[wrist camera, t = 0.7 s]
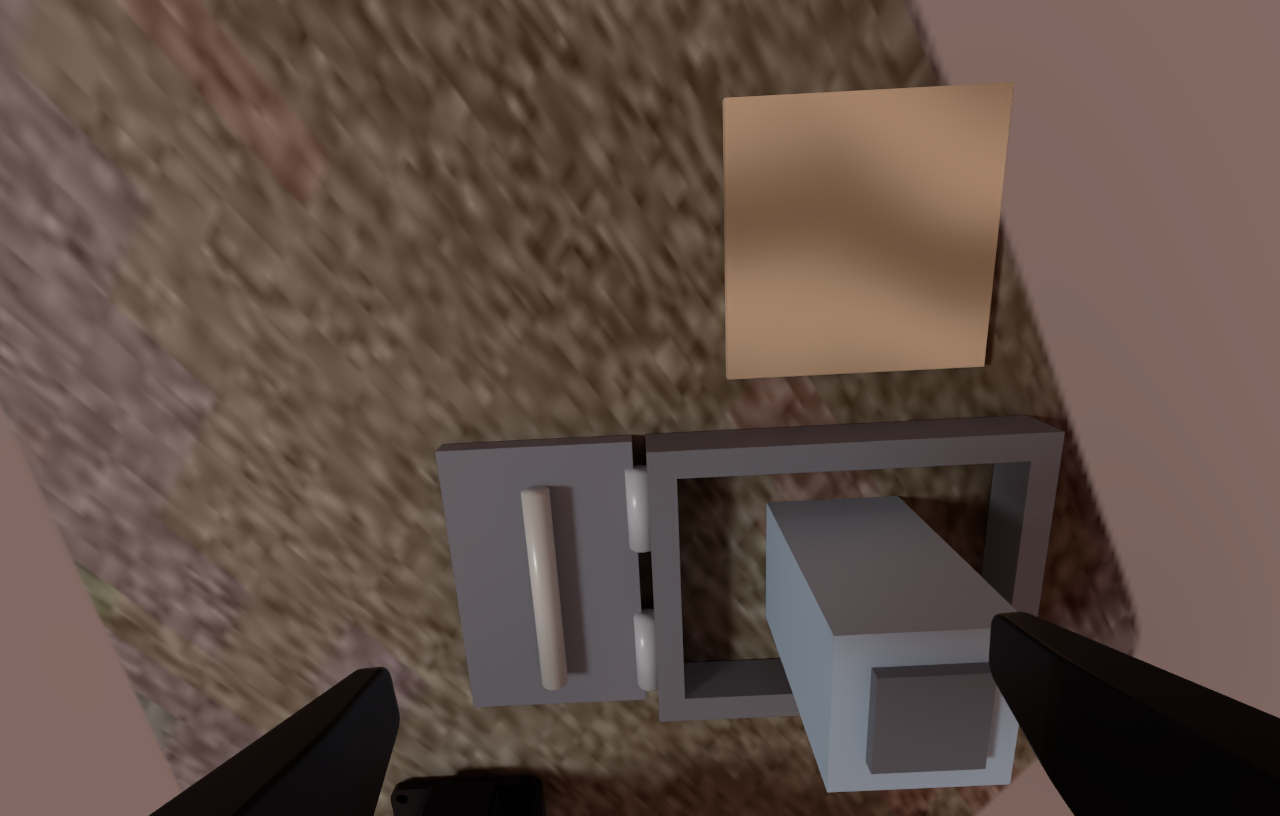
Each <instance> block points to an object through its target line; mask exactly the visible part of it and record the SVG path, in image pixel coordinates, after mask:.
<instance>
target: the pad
mask: <svg viewBox="0 0 1280 816" xmlns="http://www.w3.org/2000/svg"><path fill="white" fill-rule="evenodd" d="M1013 89H1014V82H1008V83H990V84H972V85H953V86H935V87H916V88H898V89H880V90H861V91H843V92H825V93H806V94H788V95H770V96H751V97H733V98H724V100H723V164H724V246H725V328H726V378H727V379H747V378H766V377H786V376H806V375H826V374H845V373H865V372H885V371H905V370H924V369H944V368H964V367H983V366H984V363H985V353H986V344H987V334H988V325H989V316H990V306H991V297H992V287H993V278H994V268H995V259H996V250H997V240H998V231H999V221H1000V212H1001V203H1002V192H1003V184H1004V174H1005V165H1006V155H1007V146H1008V136H1009V127H1010V118H1011V107H1012V99H1013Z"/></svg>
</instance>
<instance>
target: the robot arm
mask: <svg viewBox="0 0 1280 816" xmlns="http://www.w3.org/2000/svg"><path fill="white" fill-rule="evenodd" d="M989 668H990V672H991V675H992V678H993V680H994V682H995V683H996V685H997V687H998V689H999V690H1000V692H1001V694H1002V696H1003V698H1004V699H1005V701H1006V703H1007V705H1008V706H1009V708H1010V710H1011V712H1012V713H1013V715H1014V717H1015V719H1016V721H1017V722H1018V724H1019V726H1020V728H1021V729H1022V731H1023V733H1024V735H1025V737H1026V738H1027V740H1028V742H1029V744H1030V745H1031V747H1032V749H1033V751H1034V753H1035V754H1036V756H1037V758H1038V760H1039V761H1040V763H1041V765H1042V766H1043V768H1044V770H1045V771H1046V773H1047V775H1048V776H1049V778H1050V780H1051V781H1052V783H1053V785H1054V786H1055V788H1056V789H1057V790H1058V792H1059V793H1060V795H1061V797H1062V798H1063V800H1064V801H1065V803H1066V804H1067V805H1068V807H1069V808H1070V809H1071V811H1072V813H1073V814H1074V816H1280V718H1278V717H1275V716H1273V715H1271V714H1268V713H1266V712H1263V711H1261V710H1258V709H1256V708H1254V707H1251V706H1249V705H1247V704H1244V703H1242V702H1239V701H1237V700H1235V699H1232V698H1230V697H1228V696H1225V695H1223V694H1220V693H1218V692H1215V691H1213V690H1211V689H1208V688H1206V687H1203V686H1201V685H1199V684H1196V683H1194V682H1192V681H1189V680H1187V679H1184V678H1182V677H1179V676H1177V675H1175V674H1173V673H1170V672H1168V671H1165V670H1163V669H1160V668H1158V667H1155V666H1153V665H1151V664H1149V663H1146V662H1144V661H1141V660H1139V659H1137V658H1134V657H1132V656H1129V655H1127V654H1125V653H1122V652H1120V651H1118V650H1115V649H1113V648H1110V647H1108V646H1106V645H1103V644H1101V643H1098V642H1096V641H1094V640H1091V639H1089V638H1086V637H1084V636H1082V635H1079V634H1077V633H1075V632H1072V631H1070V630H1067V629H1065V628H1063V627H1060V626H1058V625H1055V624H1053V623H1051V622H1048V621H1046V620H1043V619H1041V618H1039V617H1036V616H1034V615H1031V614H1029V613H1026V612H1021V611H1019V612H1008V613H998V614H996V615H995V616H994V617H993V619H992V621H991V631H990V645H989ZM399 721H400V715H399V709H398V704H397V700H396V696H395V691H394V687H393V683H392V678H391V675H390V672H389V671H388V669H386V668H384V667H374V668H363V669H358V670H356V671H355V672H353V673H352V674H350V675H349V676H347V677H346V678H345V679H343V680H342V681H340V682H339V683H337V684H336V685H335V686H333V687H332V688H330V689H329V690H327V691H326V692H325V693H323V694H322V695H320V696H319V697H317V698H316V699H315V700H313V701H312V702H310V703H309V704H307V705H306V706H305V707H303V708H302V709H300V710H299V711H297V712H296V713H295V714H293V715H292V716H290V717H289V718H287V719H286V720H285V721H283V722H282V723H280V724H279V725H277V726H276V727H275V728H273V729H272V730H270V731H269V732H267V733H266V734H265V735H263V736H262V737H260V738H259V739H257V740H256V741H255V742H253V743H252V744H250V745H249V746H247V747H246V748H245V749H243V750H242V751H240V752H239V753H237V754H236V755H235V756H233V757H232V758H230V759H229V760H227V761H226V762H225V763H223V764H222V765H220V766H219V767H217V768H216V769H215V770H213V771H212V772H210V773H209V774H207V775H206V776H205V777H203V778H202V779H200V780H199V781H197V782H196V783H195V784H193V785H192V786H190V787H189V788H187V789H186V790H185V791H183V792H182V793H180V794H179V795H177V796H176V797H175V798H173V799H172V800H170V801H169V802H167V803H166V804H165V805H163V806H162V807H160V808H159V809H158V810H156V811H155V812H153V813H152V814H150V815H149V816H374V812H375V809H376V805H377V802H378V799H379V795H380V792H381V788H382V785H383V781H384V778H385V774H386V771H387V767H388V764H389V761H390V757H391V754H392V750H393V747H394V743H395V740H396V736H397V733H398V729H399ZM530 789H533V790H530ZM391 803H392V808H393V813H394V816H546V809H545V800H544V792H543V784H542V782H541V780H540V779H539V778H537V777H534V776H519V777H497V778H475V779H453V780H431V781H409V782H400V783H398V784H397V785H396V786H395V788H394V790H393V792H392V795H391Z"/></svg>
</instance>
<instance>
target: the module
mask: <svg viewBox="0 0 1280 816" xmlns="http://www.w3.org/2000/svg"><path fill="white" fill-rule="evenodd" d="M1008 612H1018V611H1016V610H1015V609H1014V608H1013V607H1012V606H1011V605H1010V604H1009V603H1008V602H1007V601H1006V600H1005V599H1004V598H1003V597H1002V596H1001V595H1000V594H999V593H998V592H997V591H996V590H995V589H994V588H993V587H992V586H991V585H990V584H988V583H987V582H986V581H985V580H984V579H983V578H982V577H981V576H980V575H979V574H978V573H977V572H976V571H975V570H974V569H973V568H972V567H971V566H970V565H969V564H968V563H967V562H966V561H965V560H964V559H963V558H962V557H961V556H959V555H958V554H957V553H956V552H955V551H954V550H953V549H952V548H951V547H950V546H949V545H948V544H947V543H946V542H945V541H944V540H943V539H942V538H941V537H940V536H939V535H938V534H937V533H936V532H935V531H934V530H933V529H932V528H930V527H929V526H928V525H927V524H926V523H925V522H924V521H923V520H922V519H921V518H920V517H919V516H918V515H917V514H916V513H915V512H914V511H913V510H912V509H911V508H910V507H909V506H908V505H907V504H906V503H905V502H904V501H902V500H901V499H900V498H899V497H898V496H890V497H870V498H850V499H829V500H809V501H788V502H768V503H767V537H766V618H767V621H768V624H769V627H770V629H771V632H772V635H773V638H774V641H775V644H776V647H777V649H778V652H779V655H780V658H781V661H782V664H783V667H784V670H785V672H786V675H787V678H788V681H789V684H790V687H791V690H792V693H793V695H794V698H795V701H796V704H797V707H798V710H799V713H800V716H801V718H802V721H803V724H804V727H805V730H806V733H807V736H808V739H809V741H810V744H811V747H812V750H813V753H814V756H815V759H816V762H817V764H818V767H819V770H820V773H821V776H822V779H823V782H824V785H825V787H826V790H827V792H848V791H870V790H892V789H914V788H936V787H958V786H980V785H1002V784H1010V780H1011V774H1012V767H1013V760H1014V753H1015V746H1016V739H1017V733H1018V726H1019V724H1018V722H1017V721H1016V719H1015V717H1014V715H1013V713H1012V712H1011V710H1010V708H1009V706H1008V705H1007V703H1006V701H1005V699H1004V698H1003V696H1002V694H1001V692H1000V690H999V689H998V687H997V685H996V683H995V682H994V680H993V678H992V675H991V672H990V668H989V645H990V631H991V621H992V619H993V617H994V616H995V615H996V614H998V613H1008Z"/></svg>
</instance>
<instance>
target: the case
mask: <svg viewBox="0 0 1280 816" xmlns="http://www.w3.org/2000/svg"><path fill="white" fill-rule="evenodd" d="M1064 435H1065V432H1064V431H1062V430H1060V429H1058V428H1055V427H1053V426H1051V425H1048V424H1046V423H1044V422H1042V421H1039V420H1037V419H1035V418H1033V417H1030V416H1028V415H1019V416H999V417H979V418H959V419H939V420H919V421H899V422H879V423H859V424H839V425H819V426H799V427H779V428H759V429H739V430H719V431H699V432H679V433H659V434H645V439H646V460H647V465H634V466H633V449H632V435H619V436H599V437H579V438H559V439H539V440H519V441H499V442H479V443H459V444H442V445H441V446H440V447H439V448H438V449H437V450H436V451H435V453H436V460H437V466H438V473H439V479H440V486H441V493H442V499H443V506H444V512H445V519H446V526H447V532H448V539H449V546H450V552H451V559H452V565H453V572H454V579H455V585H456V592H457V598H458V605H459V612H460V618H461V625H462V631H463V638H464V645H465V651H466V658H467V664H468V671H469V678H470V684H471V691H472V697H473V704H474V707H490V706H512V705H534V704H555V703H577V702H598V701H620V700H641V699H646V691H654V690H657V689H658V696H659V716H660V722H665V721H686V720H708V719H730V718H751V717H773V716H795V715H800V713H799V710H798V707H797V704H796V701H795V698H794V695H793V693H792V690H791V687H790V684H789V681H788V678H787V675H786V672H785V670H784V667H783V664H782V661H781V658H780V659H759V660H737V661H716V662H695V663H684V659H683V632H682V605H681V577H680V550H679V523H678V495H677V479H684V478H704V477H725V476H745V475H765V474H785V473H806V472H826V471H846V470H866V469H887V468H907V467H927V466H947V465H968V464H988V463H994V469H993V478H992V487H991V495H990V504H989V513H988V521H987V530H986V538H985V547H984V556H983V564H982V573H981V577H982V578H983V579H984V580H985V581H986V582H987V583H988V584H990V585H991V586H992V587H993V588H994V589H995V590H996V591H997V592H998V593H999V594H1000V595H1001V596H1002V597H1003V598H1004V599H1005V600H1006V601H1007V602H1008V603H1009V604H1010V605H1011V606H1012V607H1013V608H1014V609H1015V610H1016V611H1018V612H1019V611H1021V612H1026V613H1029V614H1031V615H1034V616H1036V617H1038V611H1039V605H1040V598H1041V591H1042V584H1043V578H1044V571H1045V564H1046V557H1047V550H1048V544H1049V537H1050V530H1051V523H1052V517H1053V510H1054V503H1055V496H1056V490H1057V483H1058V476H1059V469H1060V462H1061V456H1062V449H1063V442H1064ZM649 551H651V559H652V578H653V598H654V609H649V608H646V609H642V606H641V589H640V571H639V554H638V552H641V553H643V552H649Z"/></svg>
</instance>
